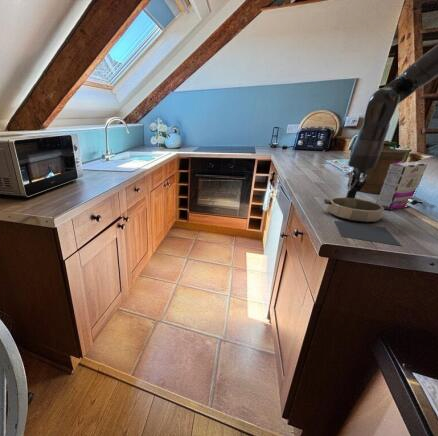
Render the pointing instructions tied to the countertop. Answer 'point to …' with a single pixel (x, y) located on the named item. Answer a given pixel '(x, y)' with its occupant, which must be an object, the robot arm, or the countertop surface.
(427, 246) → the countertop surface
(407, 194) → the candy bar box
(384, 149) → the wooden container
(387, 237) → the mat
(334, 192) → the countertop surface
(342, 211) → the pan
